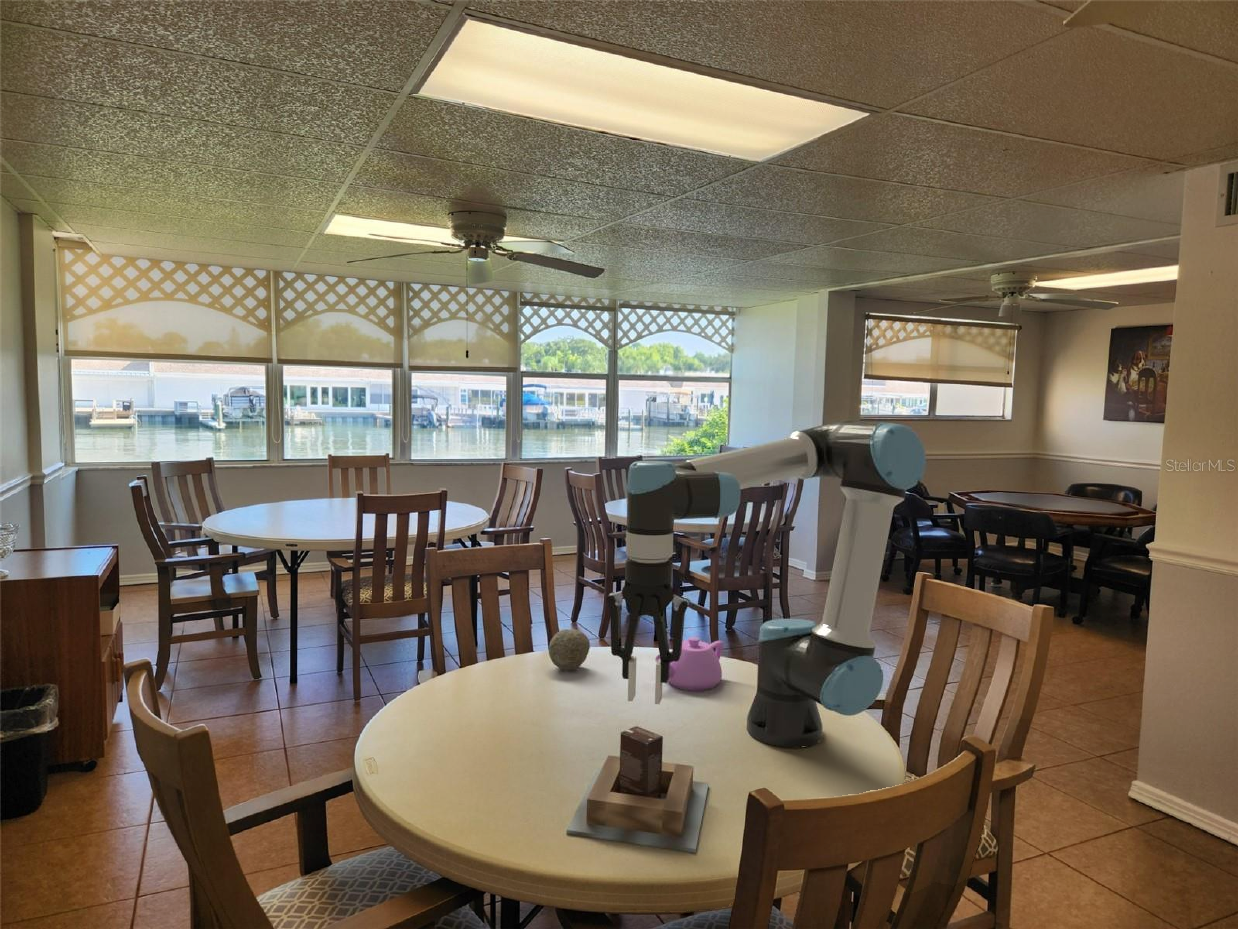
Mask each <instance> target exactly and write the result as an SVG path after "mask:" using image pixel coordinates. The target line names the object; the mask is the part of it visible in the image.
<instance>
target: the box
mask: <svg viewBox="0 0 1238 929" xmlns="http://www.w3.org/2000/svg"><path fill="white" fill-rule="evenodd" d="M663 740H664V737H663V735H660V734H658V733H655V732H652V731H649V730H647V729H645V728H642V727H640V726H637V725H636V726H632V727H631V728H628V729H626V730H623V731H621V732H620V740H619V741H620V745H619V746H620V747H619V748H620V749H619V757H620V772H619V793H622V794H629V795H637V796H644V797H651V798H659V799H661V779H662V778H661V777H662V762H663V746H664V745H663V744H664V743H663V742H664V741H663Z"/></svg>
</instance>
